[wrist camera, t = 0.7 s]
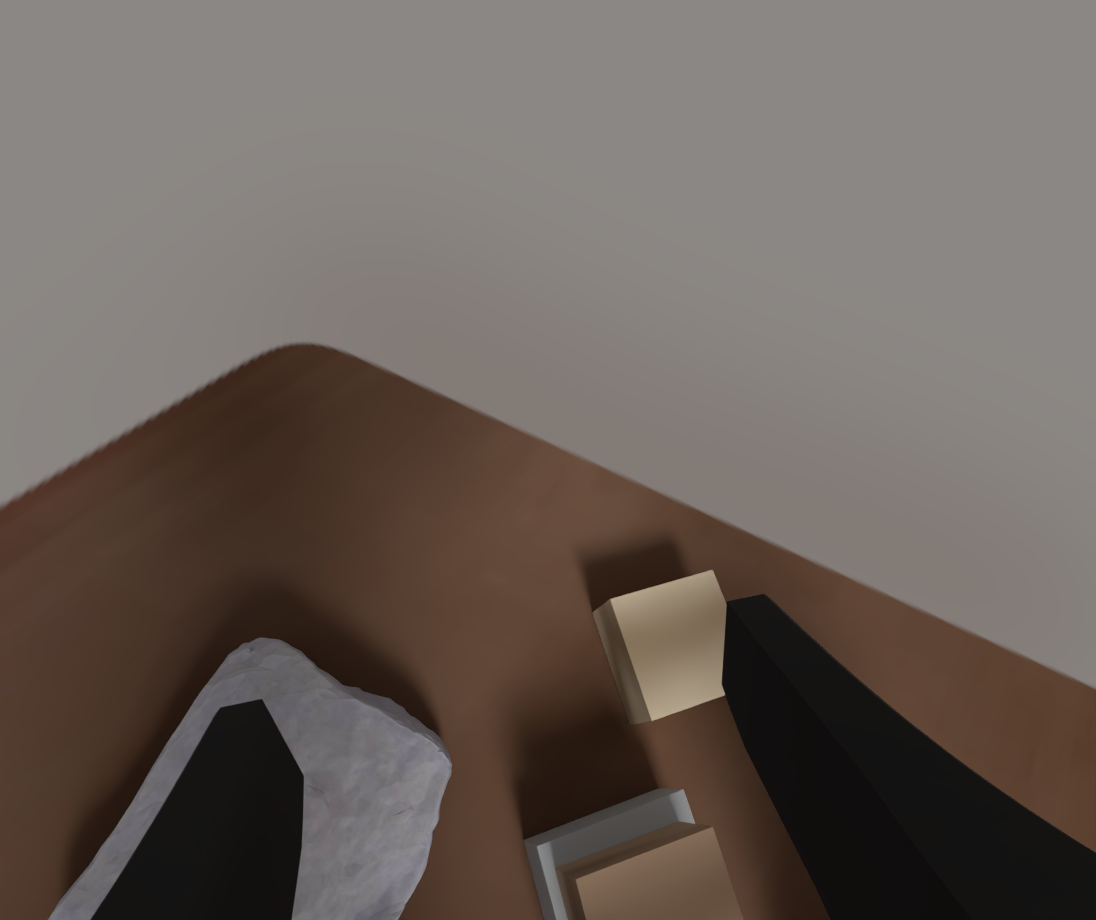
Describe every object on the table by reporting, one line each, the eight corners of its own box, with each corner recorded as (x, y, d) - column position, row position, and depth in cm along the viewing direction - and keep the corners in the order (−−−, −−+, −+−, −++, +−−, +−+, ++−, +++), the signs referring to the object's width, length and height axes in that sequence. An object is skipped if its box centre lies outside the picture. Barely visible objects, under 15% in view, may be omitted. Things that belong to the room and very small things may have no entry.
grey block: (709, 949, 27) (744, 968, 24) (567, 1016, 25) (589, 1045, 23) (656, 788, 29) (683, 789, 26) (521, 839, 27) (536, 846, 25)
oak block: (726, 691, 31) (758, 683, 29) (628, 725, 30) (651, 721, 27) (686, 586, 33) (712, 569, 30) (590, 613, 32) (610, 599, 29)
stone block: (458, 734, 30) (246, 624, 28) (491, 743, 26) (244, 615, 24) (304, 1058, 25) (33, 951, 23) (315, 1137, 21) (-18, 1013, 19)
